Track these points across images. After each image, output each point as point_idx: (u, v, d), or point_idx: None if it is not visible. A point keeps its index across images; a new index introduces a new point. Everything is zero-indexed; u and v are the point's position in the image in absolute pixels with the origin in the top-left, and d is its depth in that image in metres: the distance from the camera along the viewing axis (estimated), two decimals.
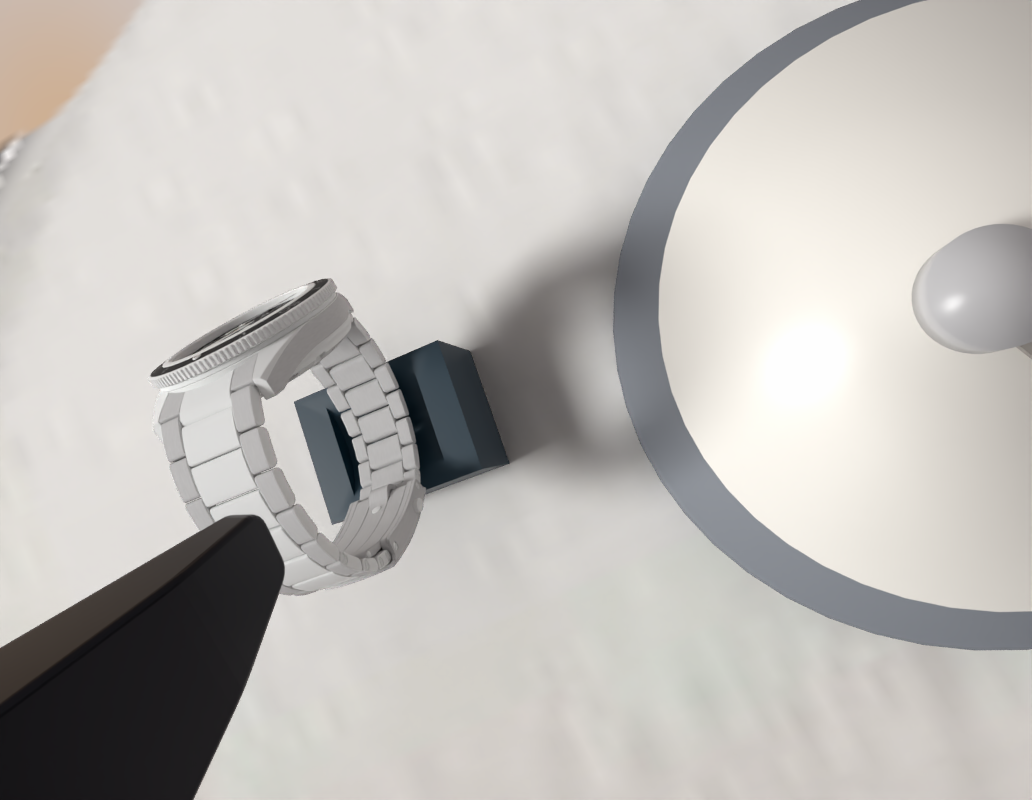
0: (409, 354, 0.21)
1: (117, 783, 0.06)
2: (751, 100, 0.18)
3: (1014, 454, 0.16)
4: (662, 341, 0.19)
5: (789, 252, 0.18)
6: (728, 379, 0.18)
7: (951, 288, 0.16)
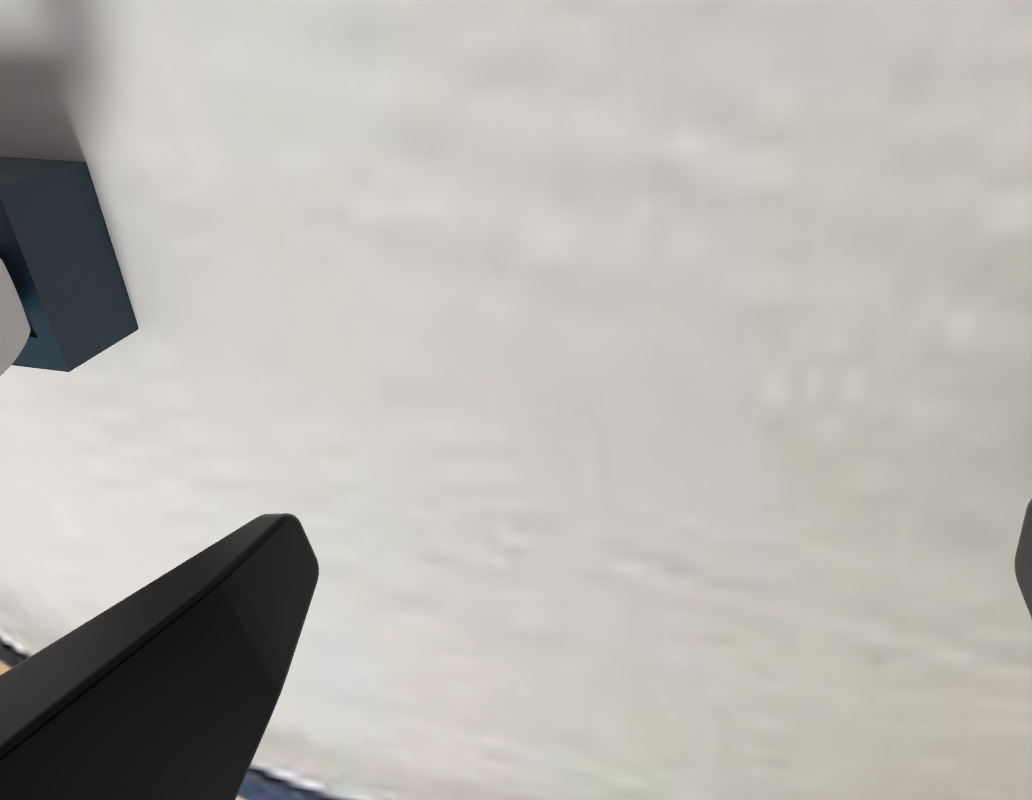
0: None
1: (161, 788, 0.06)
2: None
3: None
4: None
5: None
6: None
7: None
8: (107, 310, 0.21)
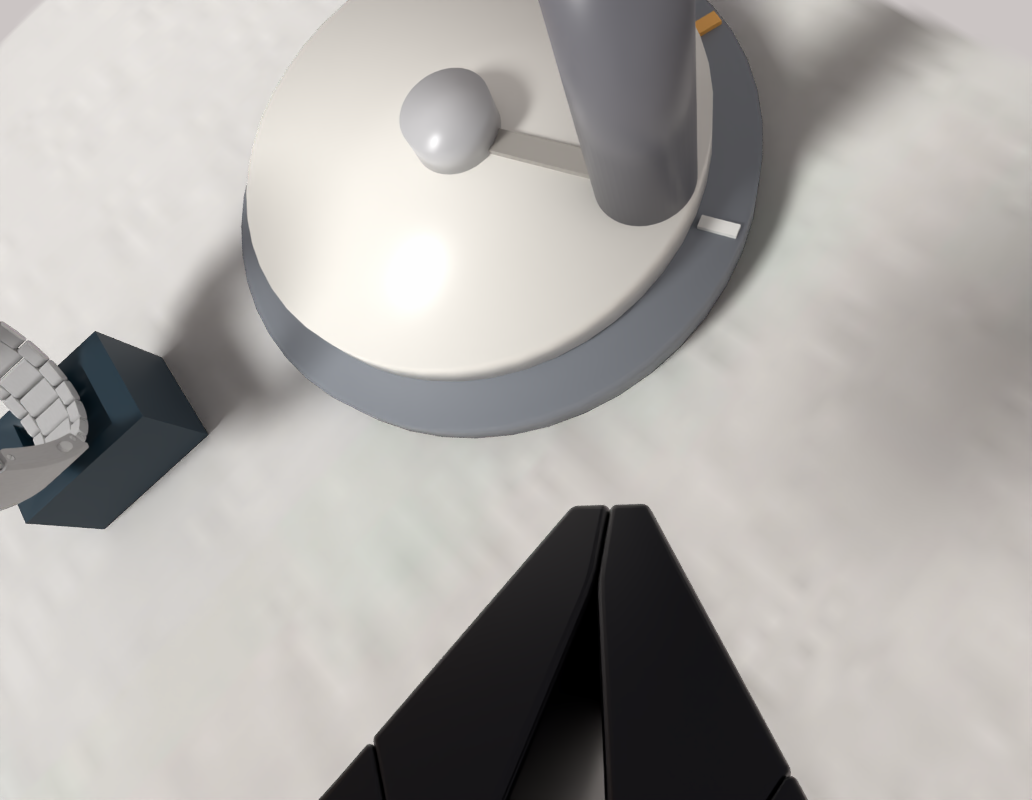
0: (74, 351, 0.24)
1: None
2: (281, 79, 0.24)
3: (516, 224, 0.20)
4: (257, 256, 0.22)
5: (329, 159, 0.23)
6: (309, 262, 0.22)
7: (415, 123, 0.20)
8: (102, 507, 0.24)
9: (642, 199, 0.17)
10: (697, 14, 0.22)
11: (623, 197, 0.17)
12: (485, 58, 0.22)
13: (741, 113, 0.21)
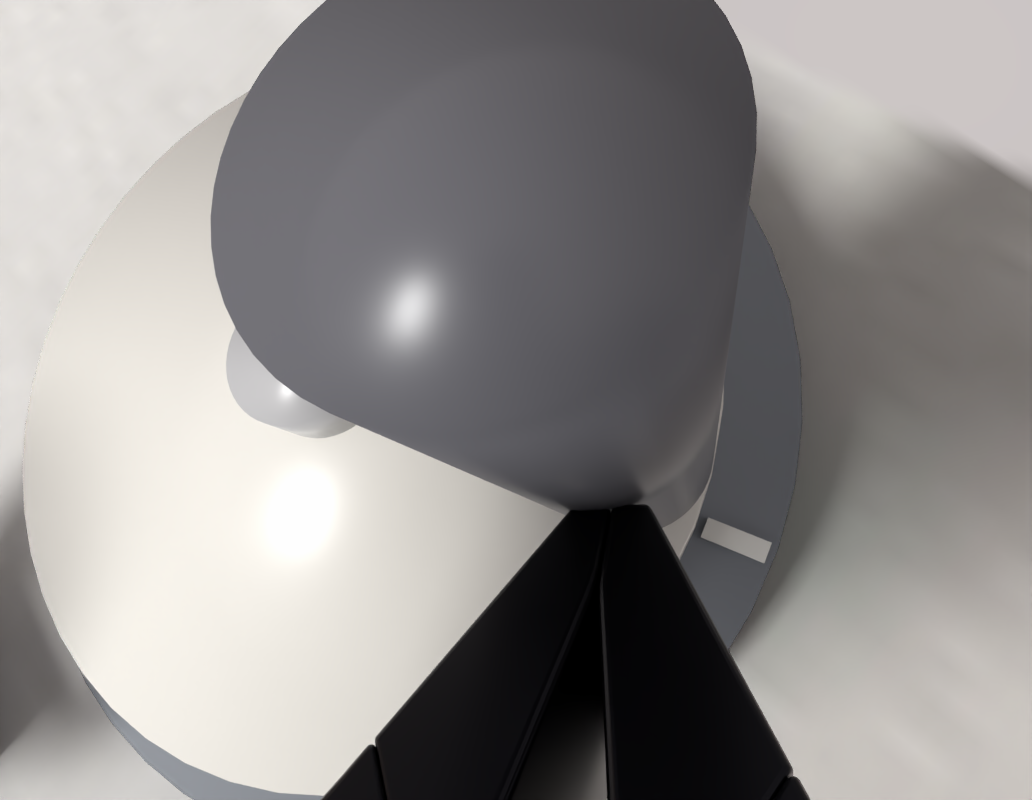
0: None
1: None
2: (71, 282, 0.16)
3: (428, 527, 0.12)
4: (39, 577, 0.14)
5: (140, 411, 0.15)
6: (115, 588, 0.14)
7: (251, 374, 0.13)
8: None
9: None
10: None
11: None
12: None
13: (766, 342, 0.13)
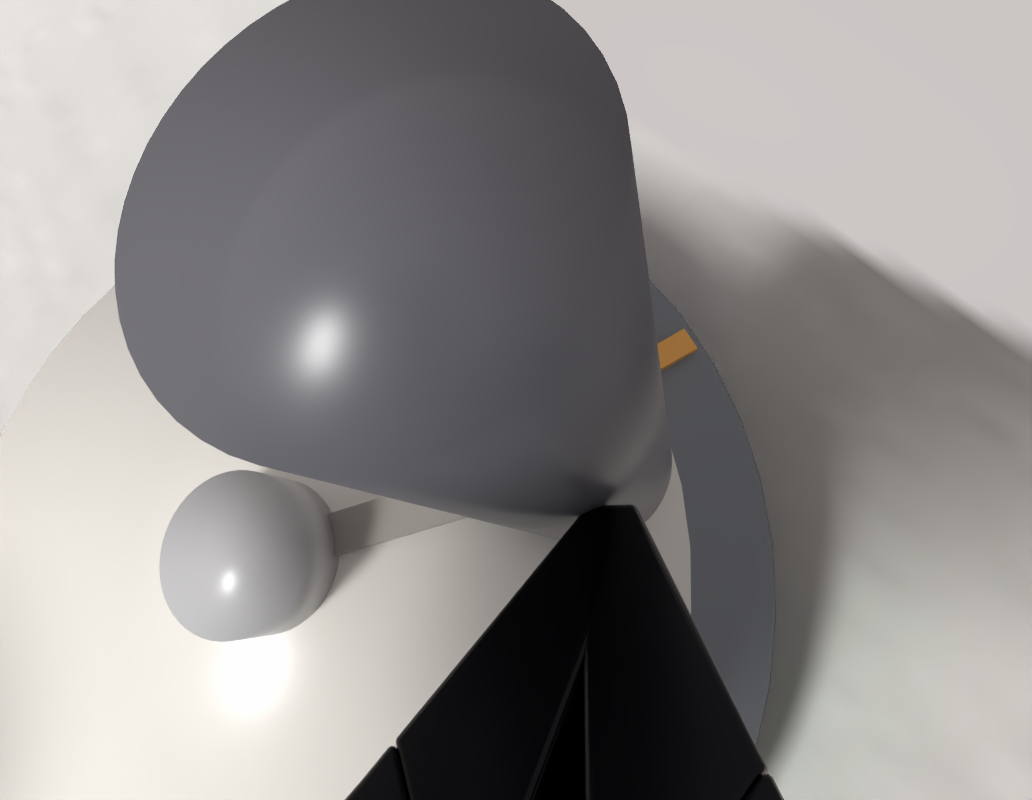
0: None
1: None
2: None
3: (453, 641, 0.12)
4: None
5: (97, 714, 0.13)
6: None
7: (200, 601, 0.12)
8: None
9: None
10: (658, 328, 0.14)
11: None
12: None
13: (736, 523, 0.12)
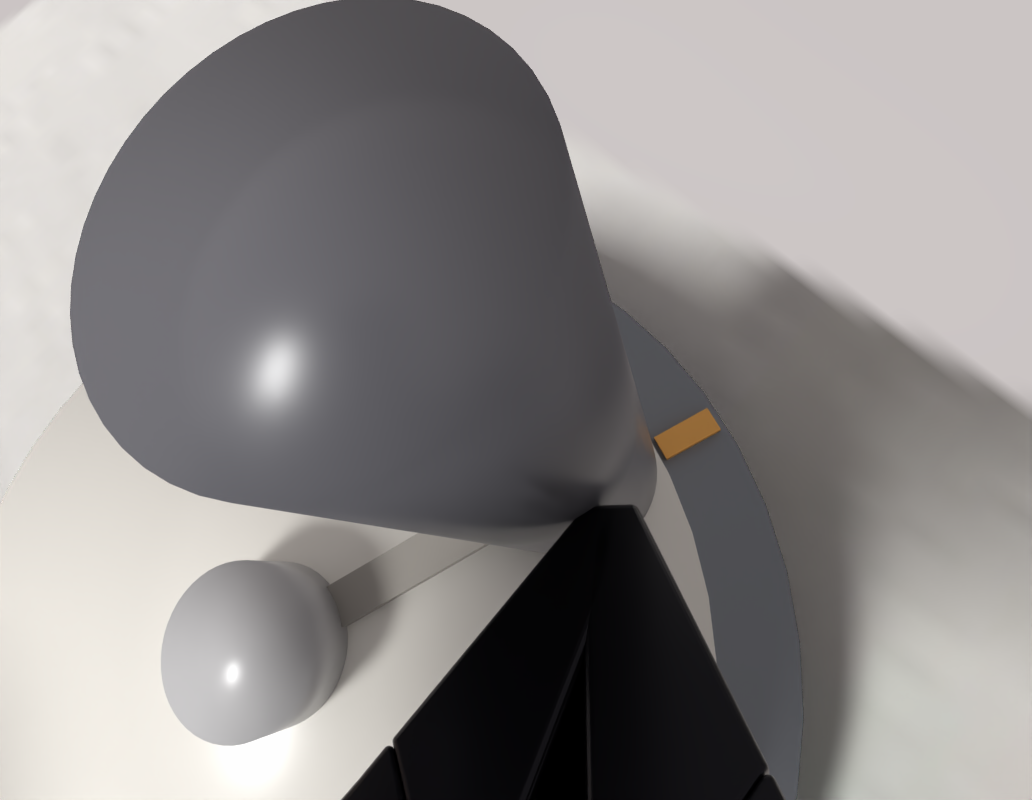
0: None
1: None
2: None
3: None
4: None
5: None
6: None
7: (212, 707, 0.11)
8: None
9: None
10: (679, 405, 0.13)
11: None
12: (216, 517, 0.13)
13: (762, 618, 0.12)
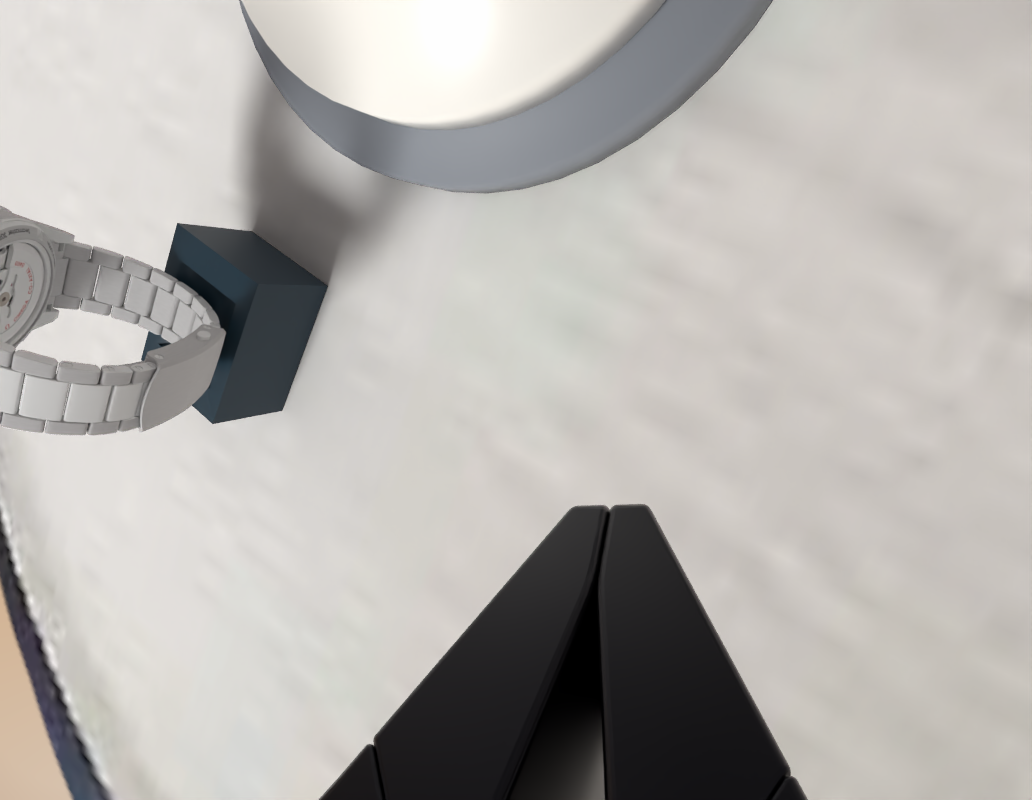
0: (170, 251, 0.23)
1: None
2: (276, 52, 0.19)
3: None
4: (474, 103, 0.16)
5: None
6: (512, 17, 0.16)
7: None
8: (270, 390, 0.24)
9: None
10: None
11: None
12: None
13: None
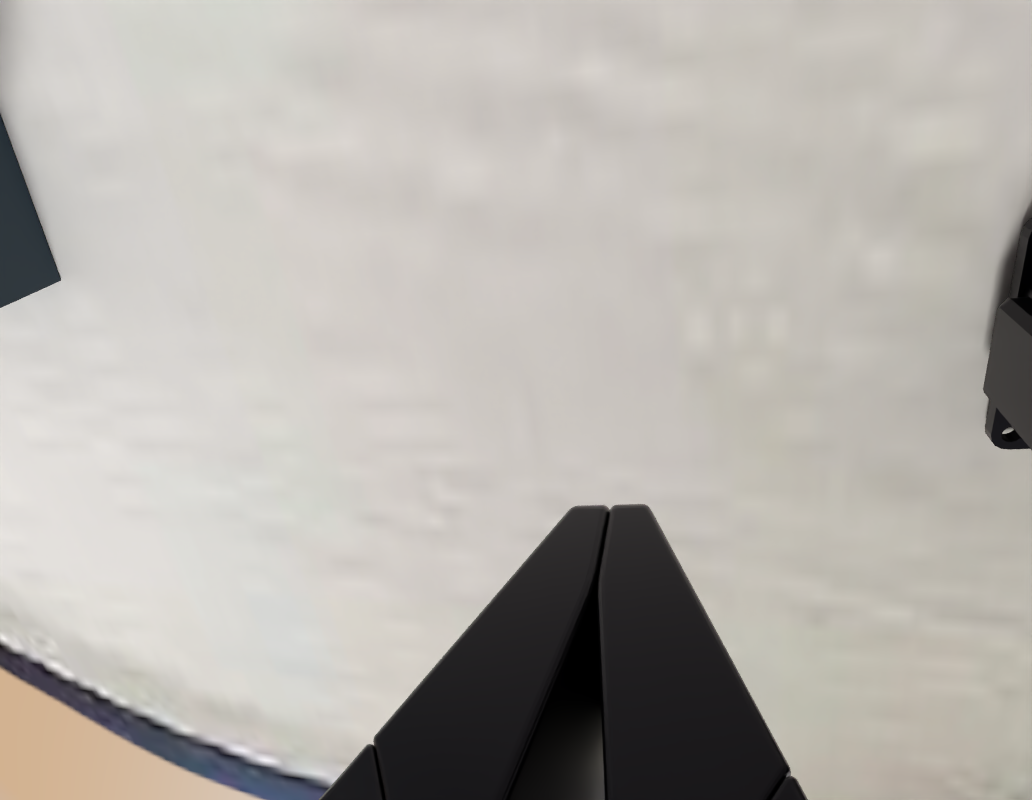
0: None
1: None
2: None
3: None
4: None
5: None
6: None
7: None
8: (24, 257, 0.21)
9: None
10: None
11: None
12: None
13: None
